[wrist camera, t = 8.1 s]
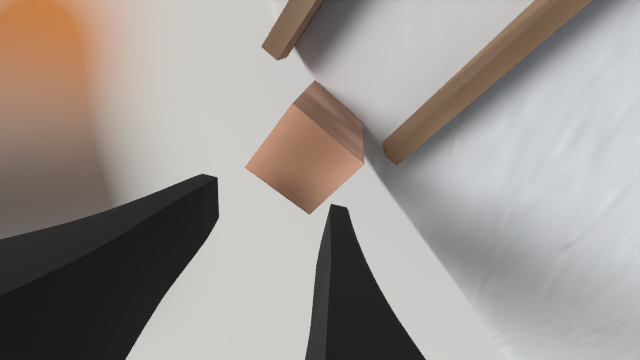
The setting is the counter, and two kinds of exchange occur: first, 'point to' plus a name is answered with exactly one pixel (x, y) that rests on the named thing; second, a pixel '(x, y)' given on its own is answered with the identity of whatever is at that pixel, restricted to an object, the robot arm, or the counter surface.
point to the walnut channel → (468, 84)
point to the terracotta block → (311, 149)
